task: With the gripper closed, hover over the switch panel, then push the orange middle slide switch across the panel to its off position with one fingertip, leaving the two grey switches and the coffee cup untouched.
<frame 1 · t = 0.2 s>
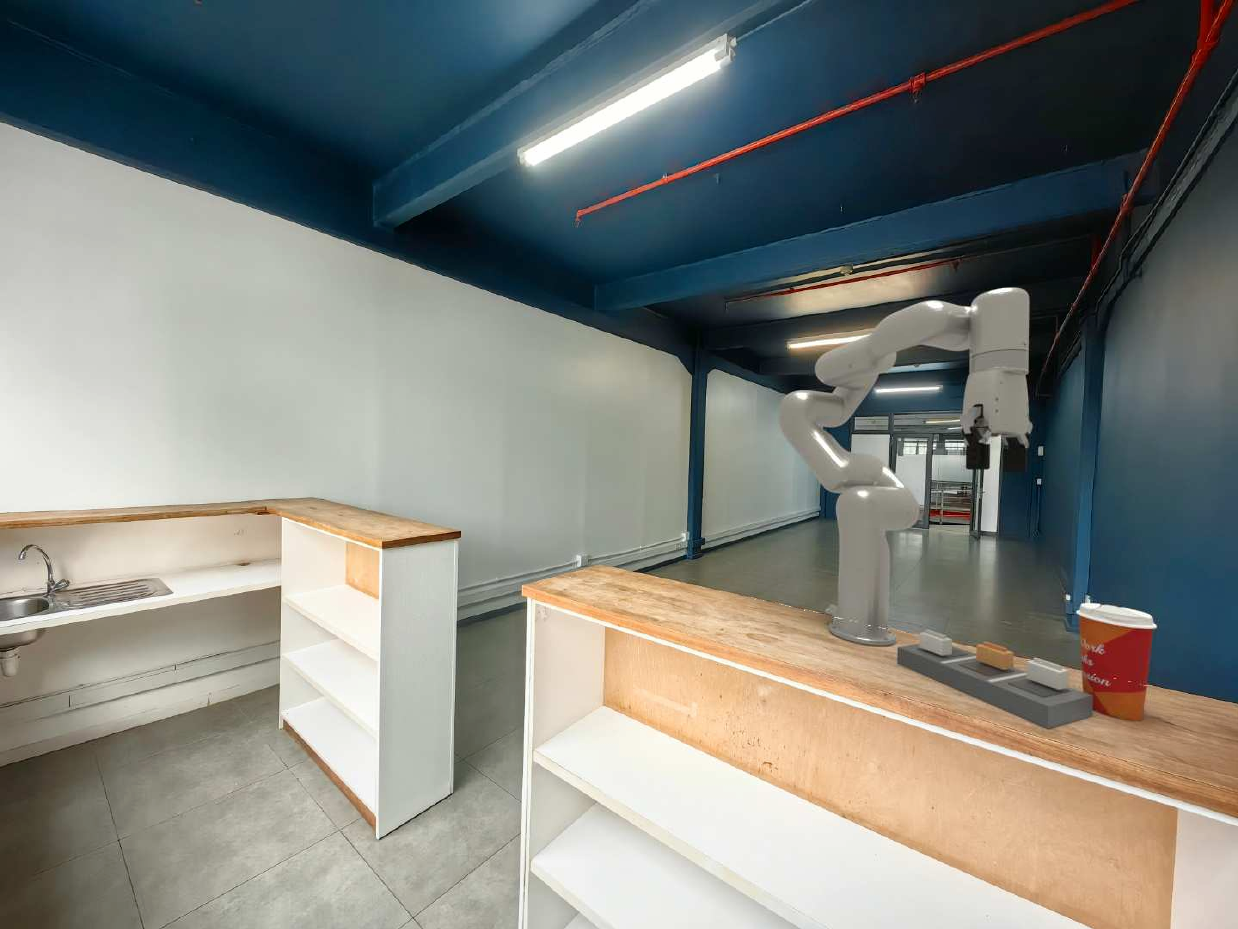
hand: (996, 470, 75), 35 cm above the worktop, tool pointing down, fingers open, 9 cm apart
switch 1: (935, 641, 81), point 5 cm above the worktop, slide at 4.0 cm
switch panel: (984, 687, 75), on the worktop
coffee cup: (1112, 712, 69), on the worktop
switch 3: (1047, 672, 69), point 5 cm above the worktop, slide at 0.0 cm
switch 2: (994, 654, 76), point 5 cm above the worktop, slide at 0.0 cm
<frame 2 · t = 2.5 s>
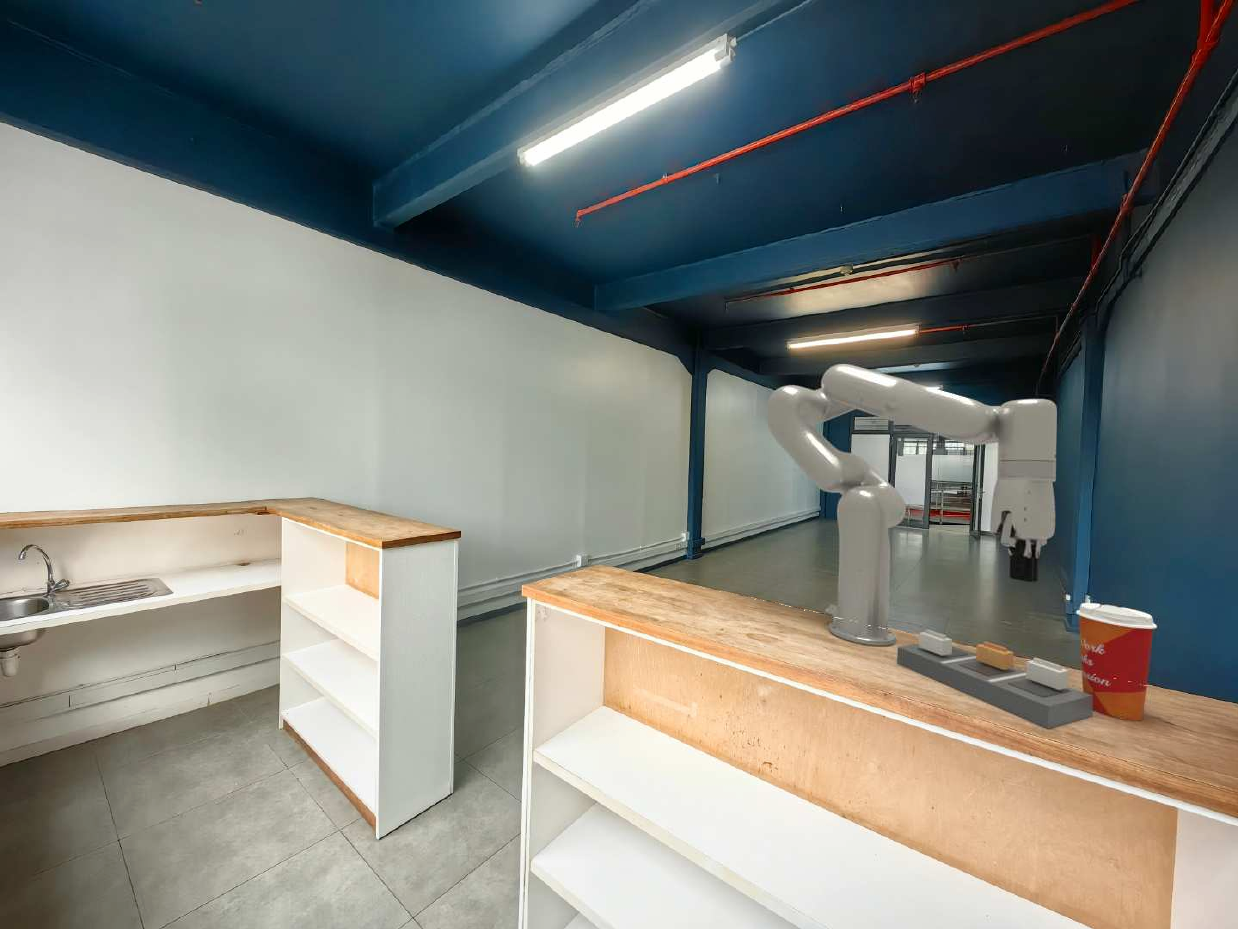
hand: (1023, 579, 78), 17 cm above the worktop, tool pointing down, fingers closed
nothing on the worktop moved.
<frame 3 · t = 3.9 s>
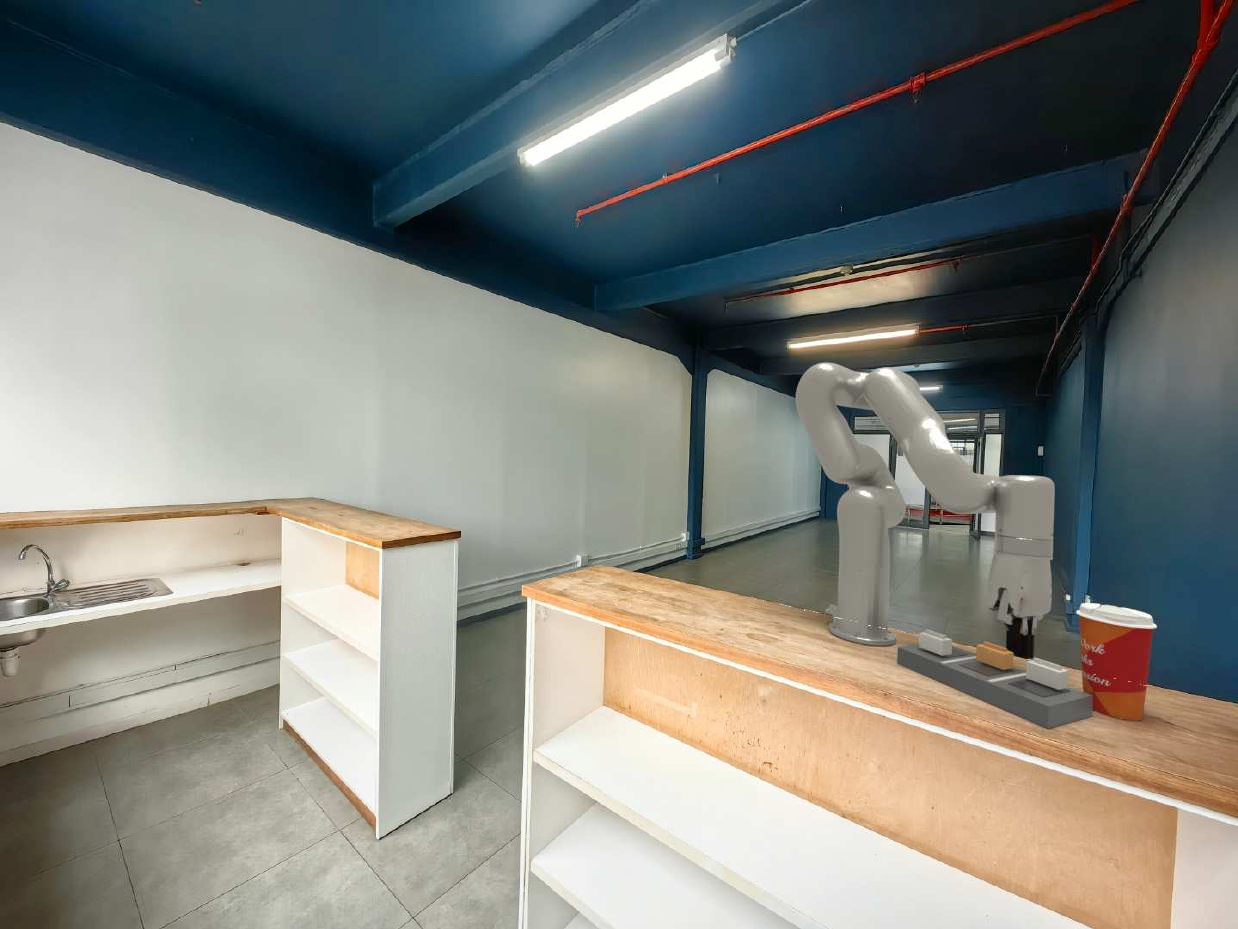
hand: (1019, 655, 78), 4 cm above the worktop, tool pointing down, fingers closed
nothing on the worktop moved.
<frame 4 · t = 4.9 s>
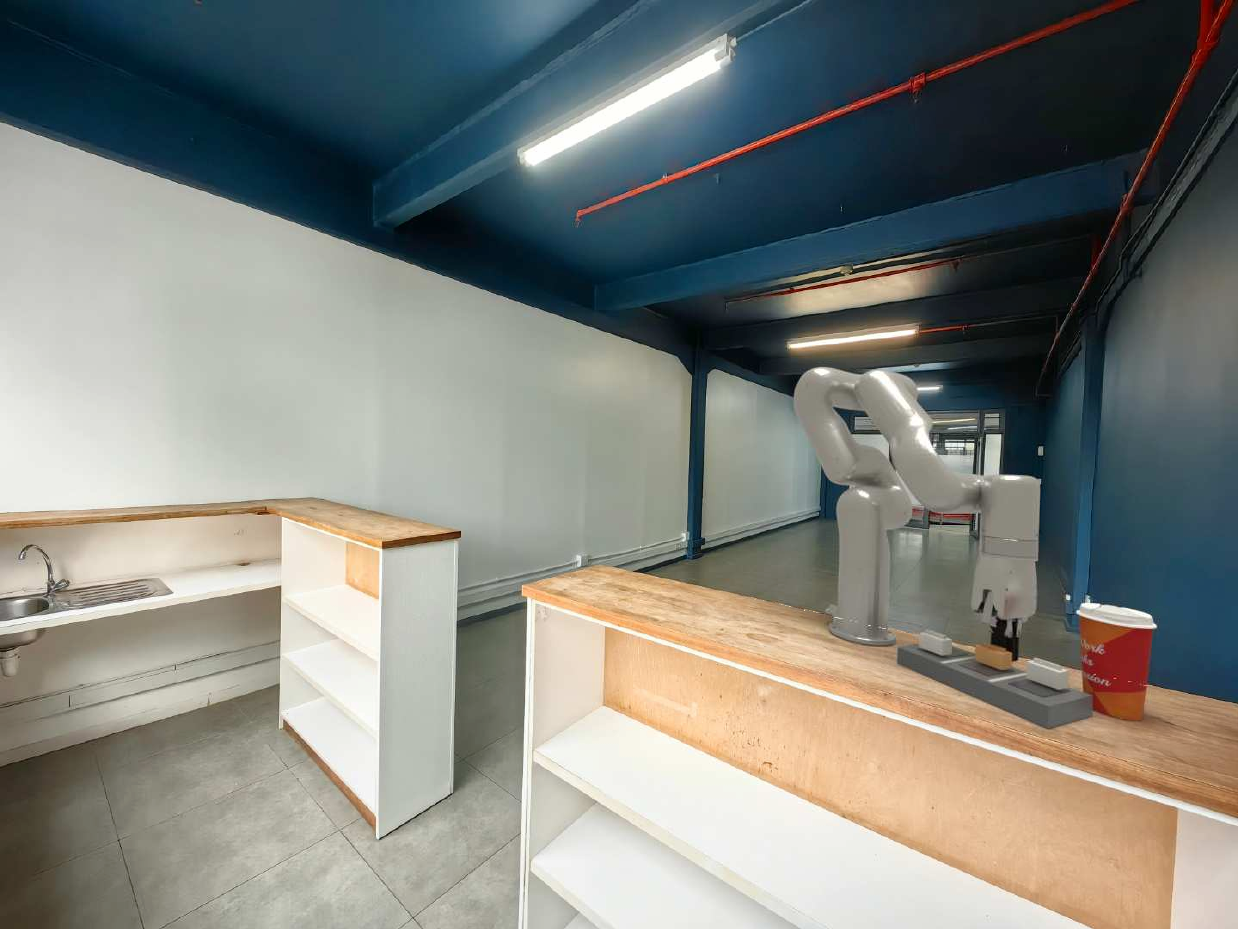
hand: (1004, 658, 77), 4 cm above the worktop, tool pointing down, fingers closed
switch 2: (993, 654, 76), point 5 cm above the worktop, slide at 0.4 cm, touching gripper
everything else where it was.
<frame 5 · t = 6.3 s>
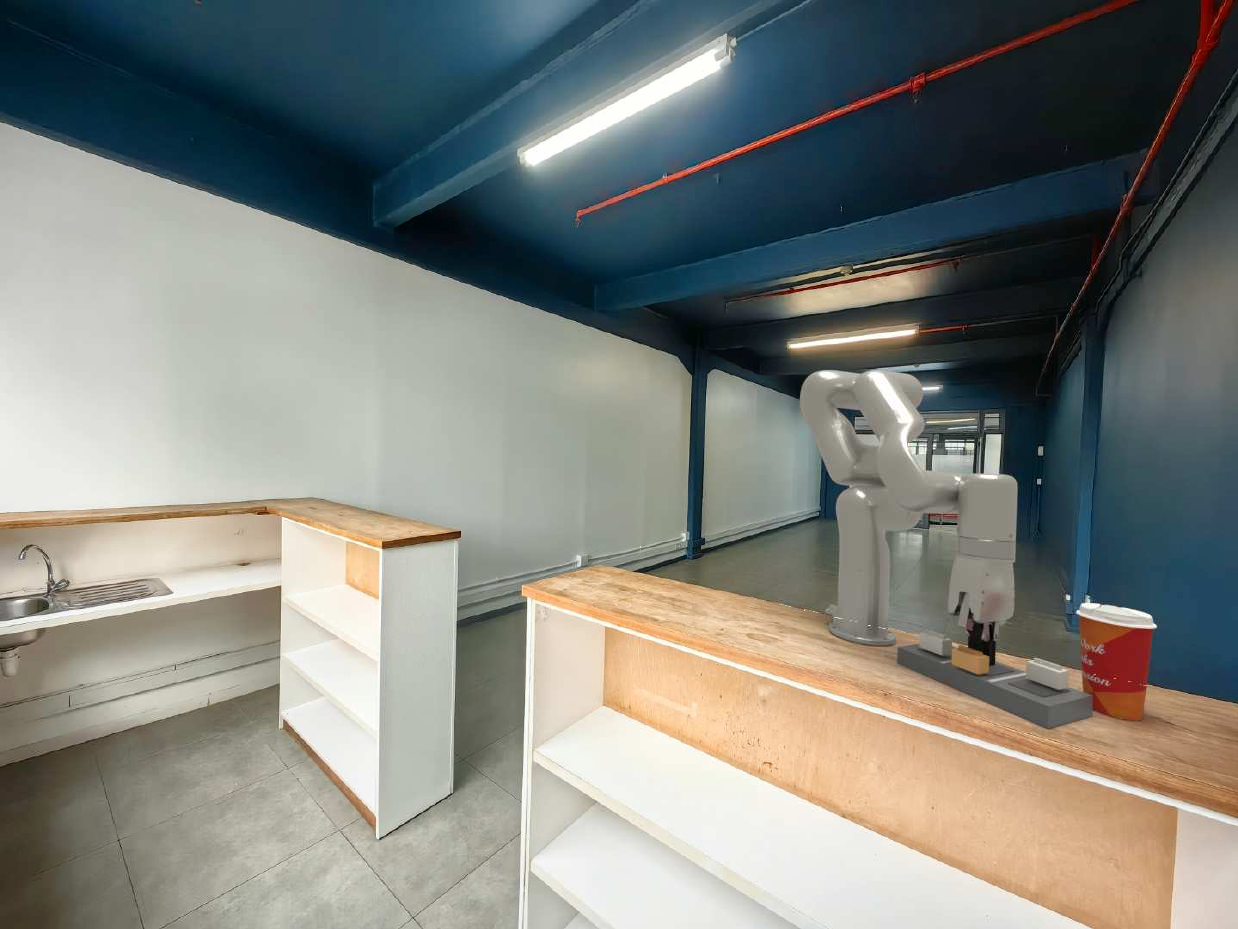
hand: (981, 662, 75), 4 cm above the worktop, tool pointing down, fingers closed
switch 2: (970, 658, 73), point 5 cm above the worktop, slide at 6.3 cm, touching gripper
everything else where it was.
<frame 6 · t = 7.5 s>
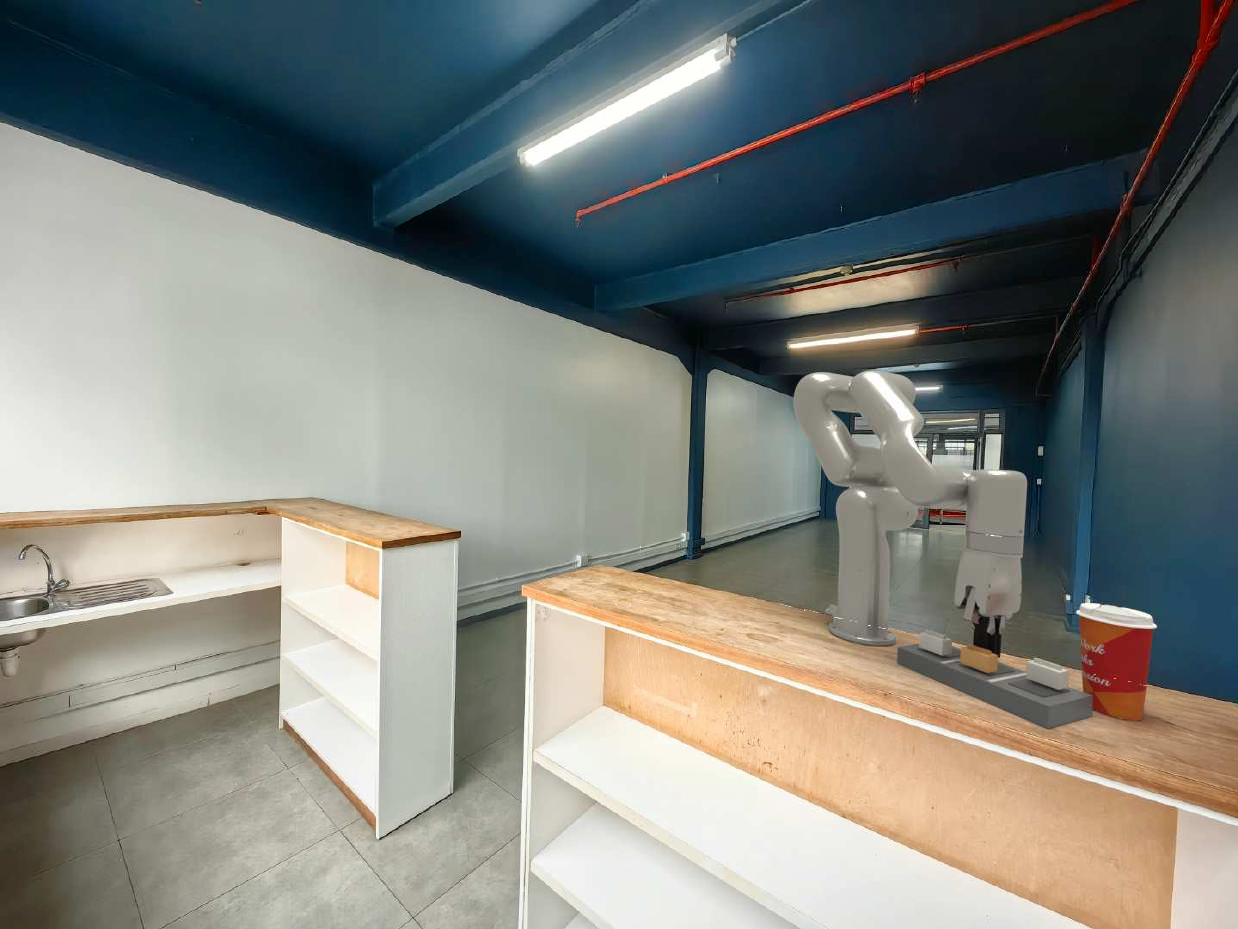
hand: (986, 655, 76), 5 cm above the worktop, tool pointing down, fingers closed
switch 2: (978, 657, 74), point 5 cm above the worktop, slide at 4.1 cm
everything else where it was.
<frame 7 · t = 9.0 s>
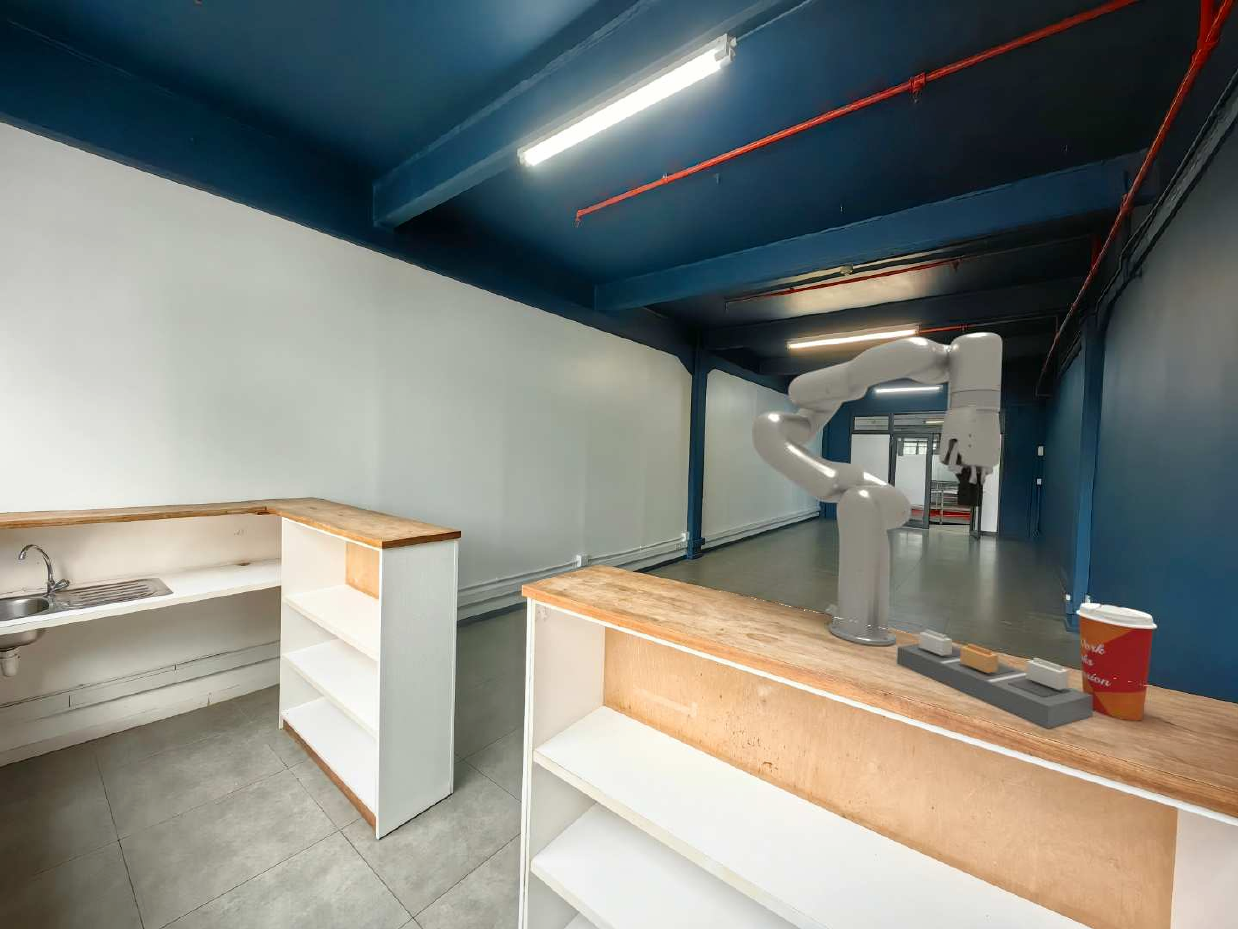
hand: (969, 505, 83), 29 cm above the worktop, tool pointing down, fingers closed
nothing on the worktop moved.
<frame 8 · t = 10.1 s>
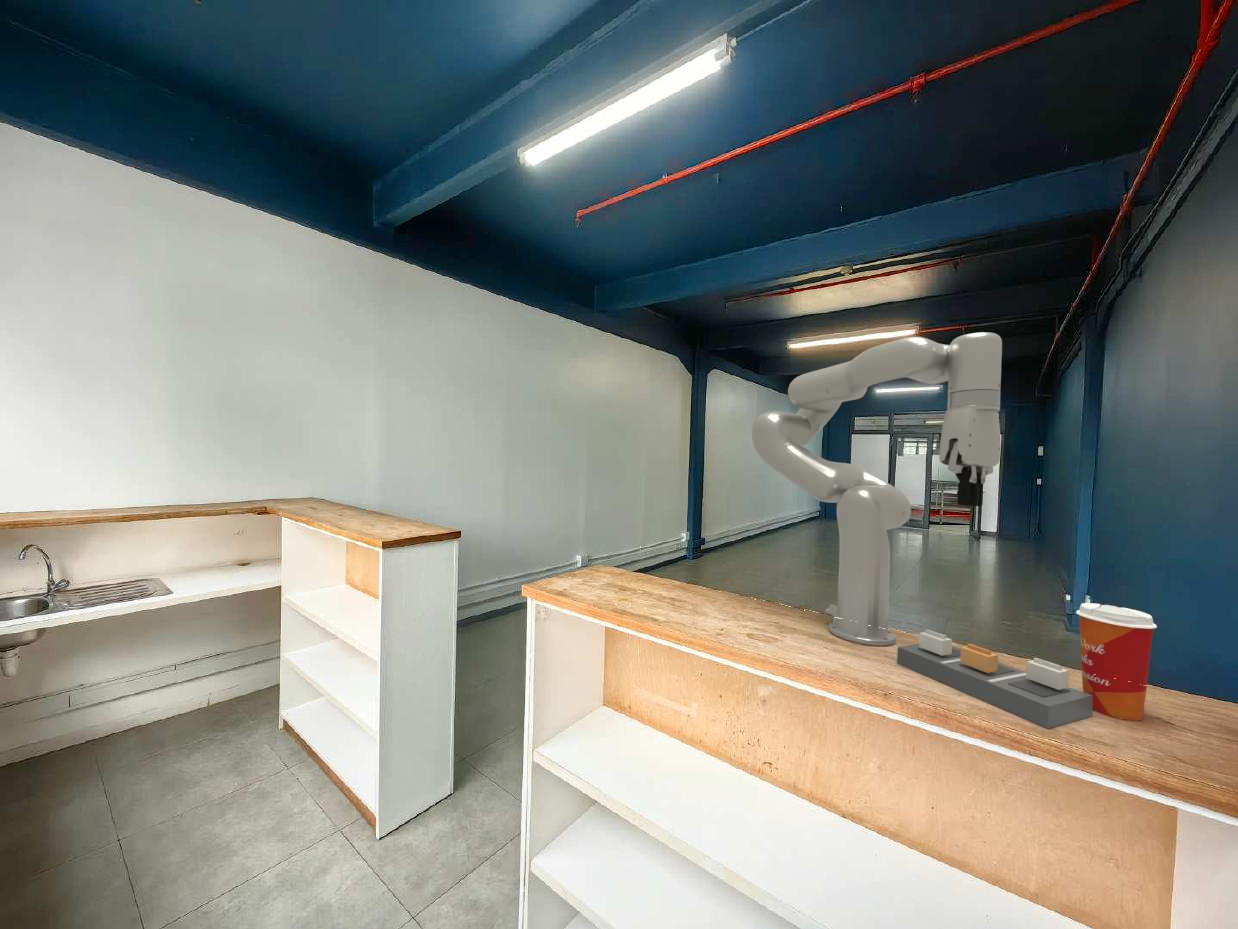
hand: (969, 505, 83), 29 cm above the worktop, tool pointing down, fingers closed
nothing on the worktop moved.
at the end: switch 2 slide at 4.1 cm; switch 3 slide at 0.0 cm; switch 1 slide at 4.0 cm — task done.
